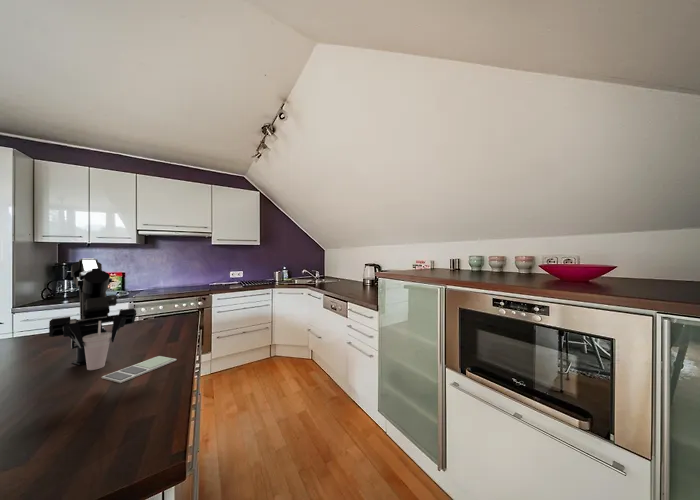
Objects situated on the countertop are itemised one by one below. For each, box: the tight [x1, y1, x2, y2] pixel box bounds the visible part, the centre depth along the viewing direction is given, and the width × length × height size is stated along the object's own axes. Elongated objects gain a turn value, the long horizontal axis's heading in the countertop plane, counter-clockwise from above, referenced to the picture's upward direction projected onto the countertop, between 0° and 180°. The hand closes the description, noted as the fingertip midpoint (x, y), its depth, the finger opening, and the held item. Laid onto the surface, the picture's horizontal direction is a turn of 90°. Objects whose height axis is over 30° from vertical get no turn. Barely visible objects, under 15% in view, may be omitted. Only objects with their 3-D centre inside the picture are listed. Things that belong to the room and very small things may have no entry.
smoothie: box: [82, 321, 112, 371], centre depth 74 cm, size 6×6×14 cm
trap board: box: [100, 355, 177, 384], centre depth 86 cm, size 10×18×1 cm, turn 161°
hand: (97, 344), depth 73 cm, fingers closed on smoothie, 6 cm apart
